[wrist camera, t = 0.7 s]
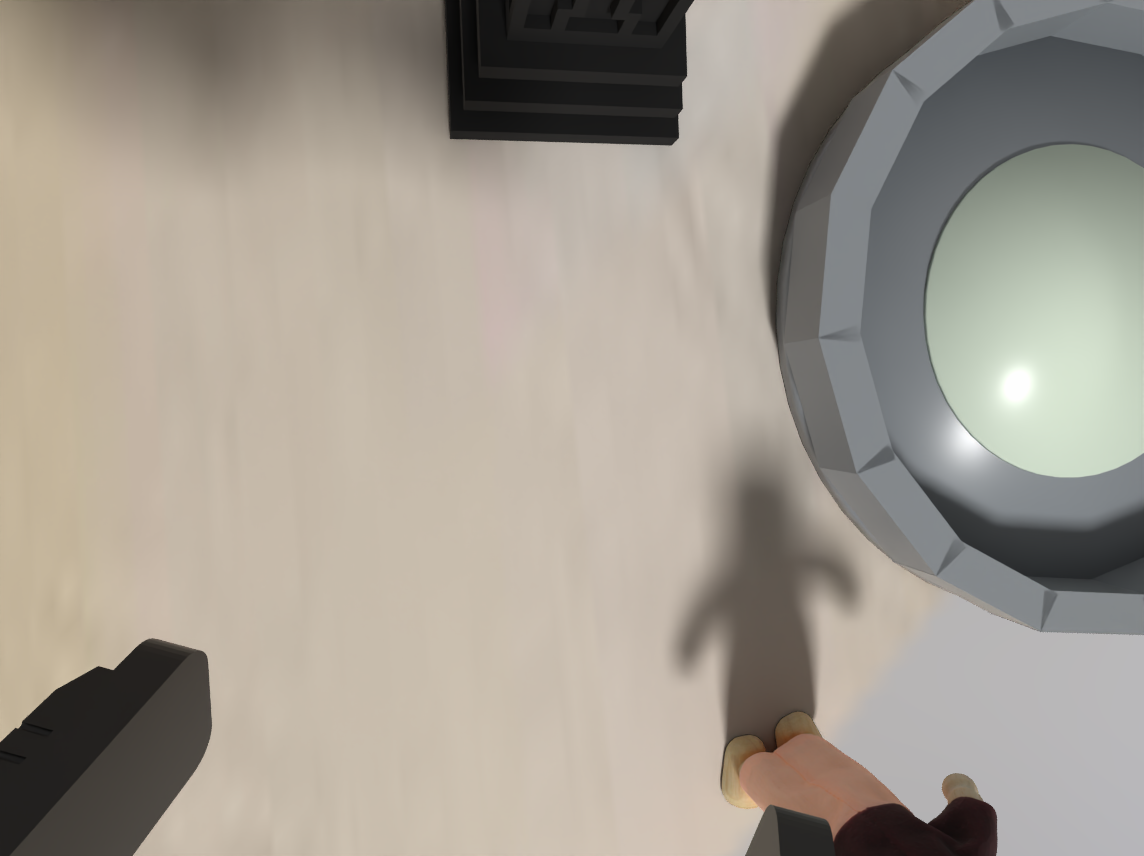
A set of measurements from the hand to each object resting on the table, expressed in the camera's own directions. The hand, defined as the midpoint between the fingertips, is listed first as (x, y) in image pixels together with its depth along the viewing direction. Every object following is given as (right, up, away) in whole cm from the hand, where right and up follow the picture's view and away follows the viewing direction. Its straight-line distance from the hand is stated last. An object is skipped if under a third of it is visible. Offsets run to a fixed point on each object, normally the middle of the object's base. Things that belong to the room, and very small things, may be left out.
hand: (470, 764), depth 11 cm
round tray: (+21, +9, +20) cm, 31 cm away
